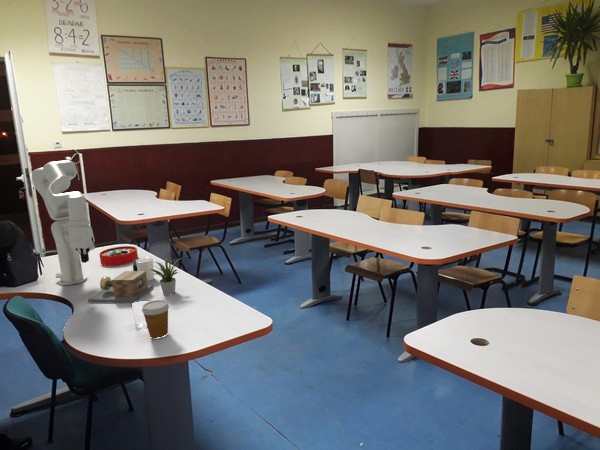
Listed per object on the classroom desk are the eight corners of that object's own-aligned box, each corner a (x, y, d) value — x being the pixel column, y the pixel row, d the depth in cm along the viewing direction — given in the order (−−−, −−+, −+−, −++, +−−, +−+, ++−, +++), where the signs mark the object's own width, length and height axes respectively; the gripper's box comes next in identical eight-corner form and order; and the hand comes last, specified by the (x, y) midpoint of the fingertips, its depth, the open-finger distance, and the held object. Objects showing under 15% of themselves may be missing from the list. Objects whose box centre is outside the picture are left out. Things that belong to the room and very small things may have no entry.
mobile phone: (138, 264, 251) (138, 256, 264) (132, 265, 250) (132, 257, 264) (139, 273, 252) (139, 265, 266) (133, 274, 251) (133, 266, 265)
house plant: (176, 284, 232) (172, 251, 228) (192, 290, 222) (188, 256, 218) (149, 293, 222) (144, 258, 218) (164, 300, 212) (160, 264, 209)
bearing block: (114, 296, 216) (111, 279, 214) (127, 287, 227) (125, 271, 226) (135, 296, 214) (133, 279, 212) (147, 287, 226) (145, 270, 224)
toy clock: (142, 250, 274) (107, 258, 262) (144, 260, 276) (108, 268, 263) (128, 244, 289) (94, 252, 276) (129, 253, 290) (95, 261, 278)
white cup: (158, 278, 242) (155, 259, 240) (143, 283, 236) (141, 263, 234) (149, 275, 247) (147, 256, 245) (135, 279, 242) (132, 260, 239)
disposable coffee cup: (140, 338, 177) (135, 307, 174) (159, 327, 185) (155, 298, 182) (158, 343, 172) (154, 311, 169) (178, 332, 180) (174, 302, 177)
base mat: (88, 302, 215) (87, 299, 215) (109, 287, 232) (109, 284, 232) (134, 302, 212) (134, 299, 211) (153, 287, 229) (152, 284, 228)
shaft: (101, 292, 220) (99, 279, 218) (108, 287, 226) (106, 275, 224) (138, 292, 217) (136, 279, 215) (144, 287, 223) (142, 275, 221)
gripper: (58, 224, 214) (65, 264, 219) (90, 225, 212) (96, 265, 217) (69, 220, 221) (75, 258, 226) (99, 220, 219) (105, 259, 224)
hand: (85, 261), depth 222 cm, fingers closed
